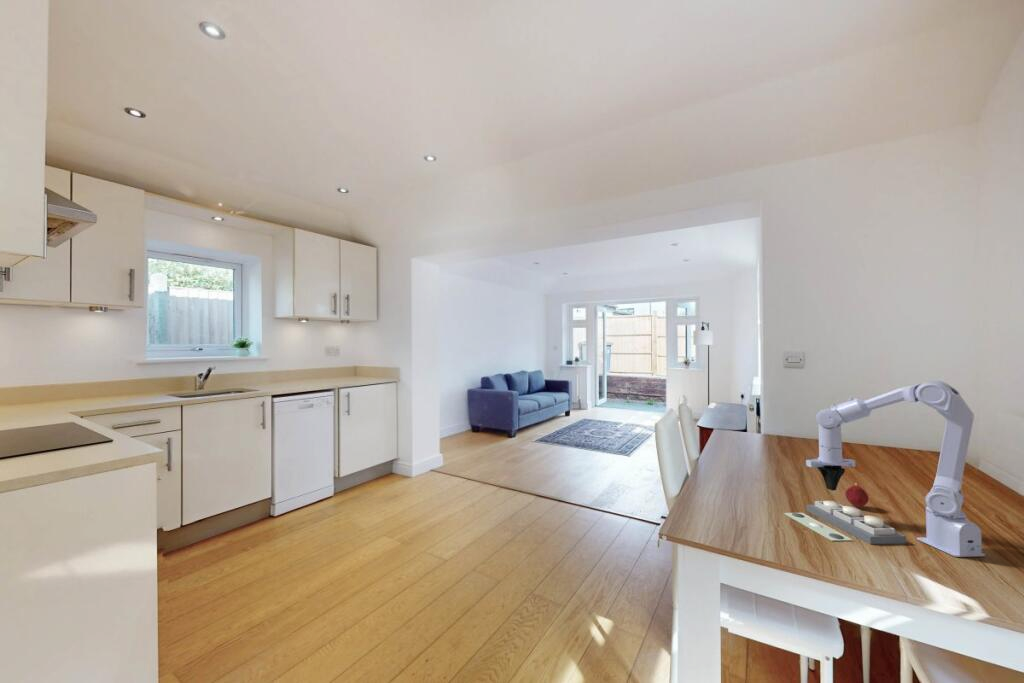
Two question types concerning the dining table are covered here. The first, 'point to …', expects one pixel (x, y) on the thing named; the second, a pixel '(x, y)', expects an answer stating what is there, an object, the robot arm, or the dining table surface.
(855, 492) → the onion
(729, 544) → the dining table surface
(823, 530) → the card
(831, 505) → the button far
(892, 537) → the button board
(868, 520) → the button near
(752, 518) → the dining table surface
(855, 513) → the button middle
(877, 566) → the dining table surface
